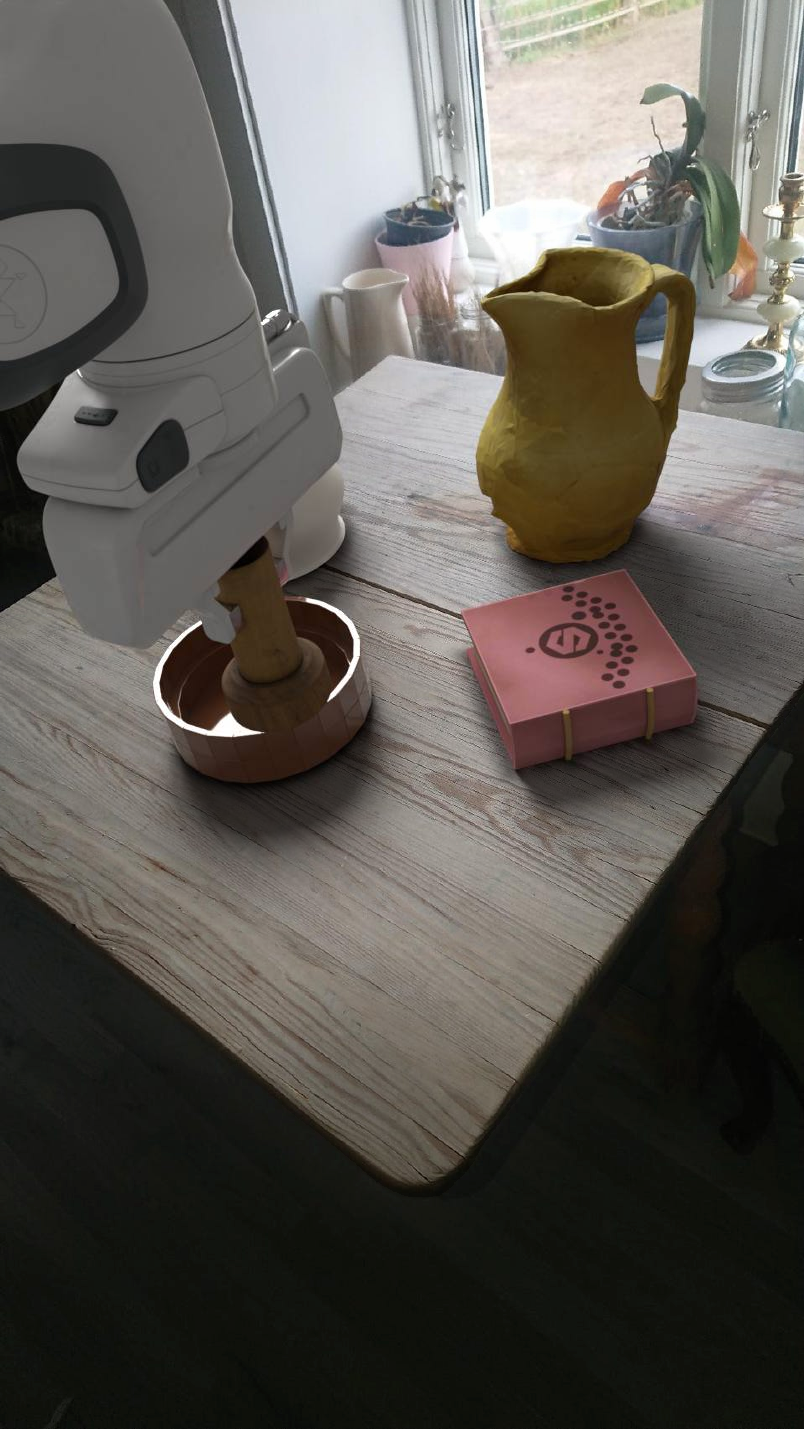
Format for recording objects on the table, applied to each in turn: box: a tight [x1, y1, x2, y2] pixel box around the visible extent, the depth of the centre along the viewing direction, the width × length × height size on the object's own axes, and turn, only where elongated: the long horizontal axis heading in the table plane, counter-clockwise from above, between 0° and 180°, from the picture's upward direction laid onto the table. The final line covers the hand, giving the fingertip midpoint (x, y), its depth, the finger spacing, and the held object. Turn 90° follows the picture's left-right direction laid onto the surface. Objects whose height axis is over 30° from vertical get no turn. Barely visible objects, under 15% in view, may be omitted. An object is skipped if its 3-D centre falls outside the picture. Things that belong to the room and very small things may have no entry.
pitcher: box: [474, 246, 697, 564], centre depth 88 cm, size 17×19×25 cm
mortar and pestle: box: [214, 536, 332, 732], centre depth 55 cm, size 7×6×18 cm
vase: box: [287, 462, 346, 582], centre depth 94 cm, size 17×17×25 cm
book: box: [460, 568, 699, 771], centre depth 78 cm, size 14×15×5 cm
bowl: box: [152, 595, 372, 784], centre depth 81 cm, size 17×17×6 cm
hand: (252, 608), depth 56 cm, fingers closed on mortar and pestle, 4 cm apart
